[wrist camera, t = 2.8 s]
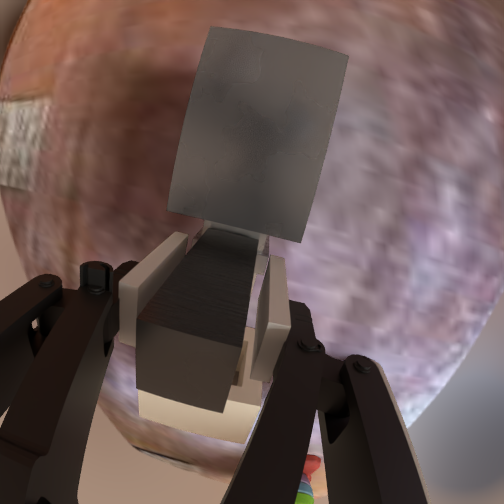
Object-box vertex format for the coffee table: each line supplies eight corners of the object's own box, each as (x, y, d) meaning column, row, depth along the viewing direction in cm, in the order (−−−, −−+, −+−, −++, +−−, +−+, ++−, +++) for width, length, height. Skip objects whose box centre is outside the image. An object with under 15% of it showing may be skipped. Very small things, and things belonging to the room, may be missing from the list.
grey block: (234, 73, 20) (210, 26, 11) (319, 92, 20) (348, 55, 11) (206, 188, 24) (166, 210, 14) (289, 208, 24) (300, 243, 15)
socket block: (175, 308, 28) (137, 374, 18) (265, 331, 28) (260, 406, 18) (170, 350, 29) (139, 416, 20) (252, 370, 30) (244, 444, 20)
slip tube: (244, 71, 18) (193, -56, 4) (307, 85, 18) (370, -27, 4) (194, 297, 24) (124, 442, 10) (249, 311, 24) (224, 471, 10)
